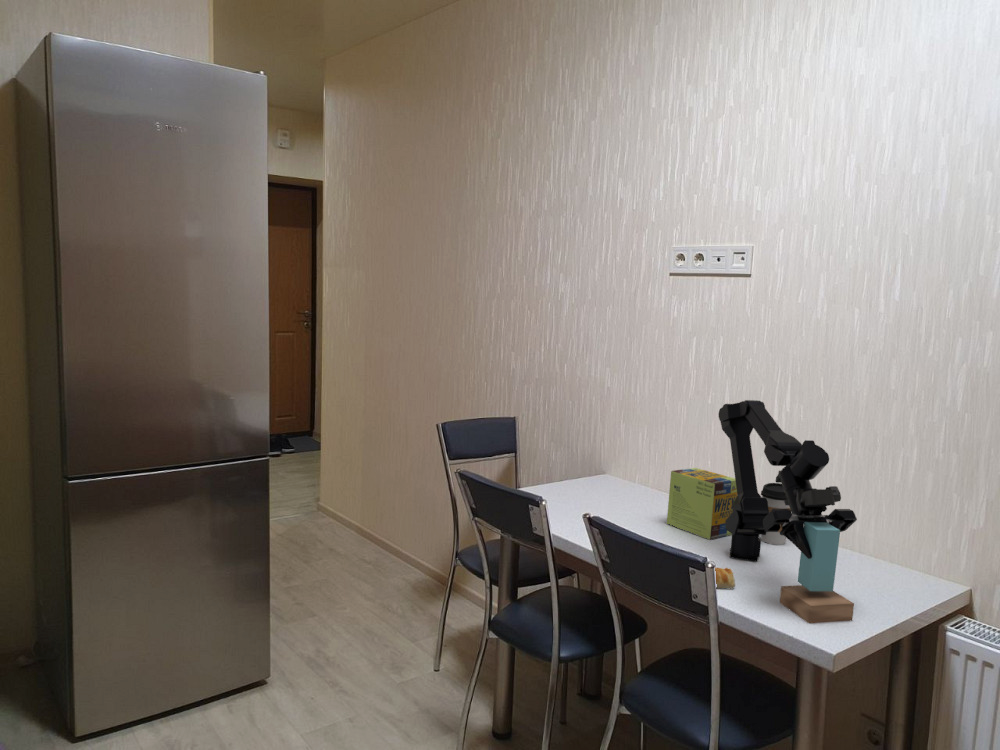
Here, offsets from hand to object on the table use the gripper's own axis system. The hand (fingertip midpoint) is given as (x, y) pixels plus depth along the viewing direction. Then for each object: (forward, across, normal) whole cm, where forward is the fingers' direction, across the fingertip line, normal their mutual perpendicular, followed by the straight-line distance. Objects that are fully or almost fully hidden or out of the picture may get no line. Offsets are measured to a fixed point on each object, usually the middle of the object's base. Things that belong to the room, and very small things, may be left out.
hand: (822, 557), depth 155 cm
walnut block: (+8, 0, +9) cm, 12 cm away
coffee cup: (-22, +14, +39) cm, 47 cm away
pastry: (-2, -15, +20) cm, 25 cm away
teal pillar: (+4, 0, +6) cm, 7 cm away
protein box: (-29, -2, +46) cm, 55 cm away
